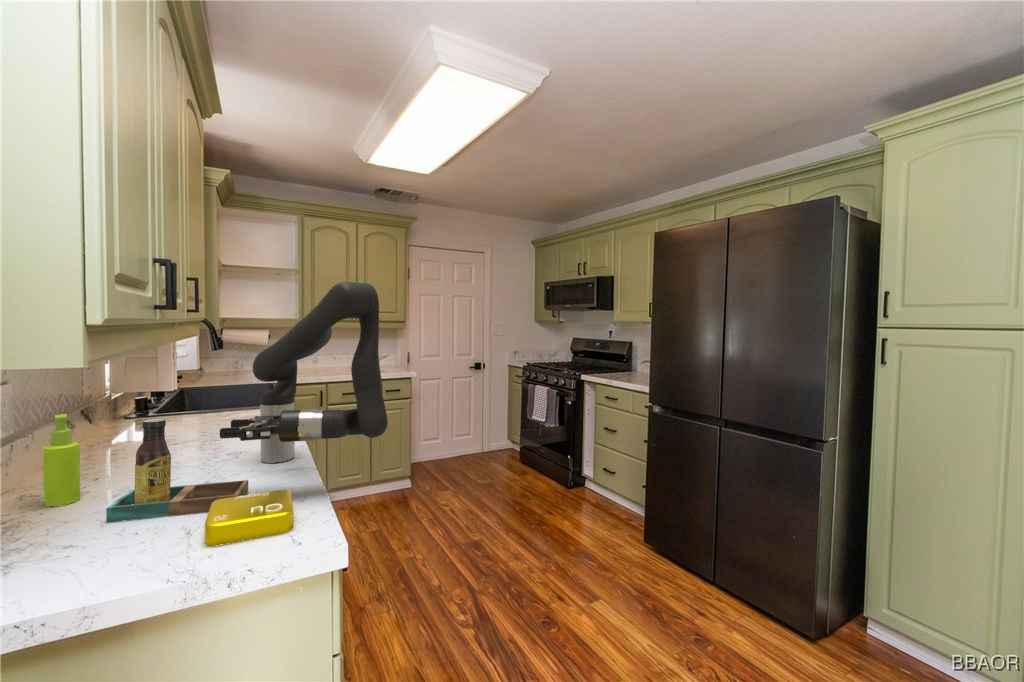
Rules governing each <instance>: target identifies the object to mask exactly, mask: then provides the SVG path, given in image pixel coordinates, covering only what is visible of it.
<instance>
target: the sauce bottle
mask: <svg viewBox="0 0 1024 682" xmlns="http://www.w3.org/2000/svg"><path fill="white" fill-rule="evenodd" d="M141 424H142V425H141V426H142V428H143V430H142V431H143V432H142V434H143V437H142V443H141V444H140V445H139V447H138V448H137V450H136V453H135V464H134V490H135V491H134V504H143V503H154V502H164V501H169V500H170V487H171V482H172V481H171V479H172V477H171V476H172V475H171V471H172V470H171V469H172V468H171V467H172V454H171V452H170V450H169V447H168V444H167V442H166V435H165V427H166V424H167V423H166V419H165V418H152V419H145V420H142V423H141Z"/></svg>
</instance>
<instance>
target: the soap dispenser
mask: <svg viewBox="0 0 1024 682" xmlns="http://www.w3.org/2000/svg"><path fill="white" fill-rule="evenodd" d="M67 418H68V414H67V413H62V414H61V413H60V414H55V415H54V421H55V428H54V429H53V430H51V431H50V444H48V445H45V446H43V447H42V460H43V461H42V465H43V466H42V467H43V471H42V472H43V501H44V502H43V503H44V504H43V505H45V506H58V507H61V506H60V505H64V506H67V505H66V504H68V505H70V503H72V504H74V503H77V502H78V500H79V499H80V498H81V497H82V496H81V463H80V462H81V458H80V457H81V456H80V452H81V451H80V450H81V449H80V443H79V442H77V441H76V442H75V441H74V442H73V440H72V439H73V438H72V431H73V430H72V429H71V428H69V427H67ZM80 500H81V499H80ZM80 500H79V501H80ZM76 501H77V502H76ZM73 502H74V503H73ZM45 506H44V507H45Z"/></svg>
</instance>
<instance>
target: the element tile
mask: <svg viewBox="0 0 1024 682" xmlns="http://www.w3.org/2000/svg"><path fill="white" fill-rule="evenodd" d="M292 498H293V497H292V492H291V490H289V489H280V490H271V491H265V492H259V493H252V494H250V493H249V494H247V495H243V496H236V497H229V498H223V499H217V500H215V501H214V502H213V503H212V504H211V507H210V510H209V512H207V513H208V514H207V516H206V519H205V522H204V545H205V544H206V545H207V547H216V546H215V545H218V546H221V545H220V544H224V545H228V544H227V543H229V544H233V543H232V542H234V543H239V542H238V541H240V542H243V541H242V540H245V541H249V539H251V540H256V539H260V538H266V537H271V536H276V535H282V534H286V533H288V531H289V532H290V531H292V530H293V529H292V528H294V504H293V499H292ZM291 529H292V530H291ZM255 538H256V539H255ZM206 545H205V546H206Z"/></svg>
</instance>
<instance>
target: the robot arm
mask: <svg viewBox="0 0 1024 682" xmlns="http://www.w3.org/2000/svg"><path fill="white" fill-rule="evenodd" d="M348 319H349V320H350V319H358V320H359V326H360V328H359V329H360V332H359V333H360V334H359V340H358V343H357V347H356V349H355V351H354V354H353V357H352V361H351V366H350V367H351V368H350V369H351V370H350V372H351V378H352V379H351V380H352V387H353V392H354V396H355V401H356V402H355V403H356V408H352V409H295V397H296V394H297V384H298V383H297V380H298V379H297V378H298V361H299V360H302V359H305V358H308V357H310V356H313V355H315V354H316V353H317V352H319V351H320V350H321V349H322V348H323V347H325V346H326V345H327V344H328V343H329V342H330V340H331V338H332V332H333V329H332V327H333V326H335V324H338V322H340V321H343V320H348ZM379 337H380V300H379V295H378V292H377V290H376V288H375V286H374V285H372V284H371V283H367V282H358V281H357V282H354V281H341V282H338V283H336V284H334V286H332V287H331V288H330V289H329V290H328V292H327V293H326V294H325V295H324V296H323V297H322V298H321V300H320V301H319V303H318V304H317V305H316V306H315V307H314V308H313V309H312V310H310V312H308V314H306V315H305V316H304V317H303V318H302V319H301V320H299V321H298V322H297V323H296V324H295V325H294V326H292V327H291V329H290V330H288V331H287V332H286V333H285V334H284V335H283V336H281V337H280V338H279V339H278V340H277V341H275V342H274V343H273V344H271V345H269V346H268V347H267V348H265V349H263V350H262V351H260V352H259V353H258V354H257V355H256V357H255V358H254V361H253V363H252V373H253V374H252V375H254V377H255V378H256V379H257V380H258V381H261V382H266V383H267V382H268V383H270V382H277V383H276V384H275V386H274V387H272V388H271V389H269V390H267V391H265V392H264V393H262V394H261V395H260V400H259V402H260V403H259V404H260V407H259V408H260V416H259V415H256V416H253V417H251V418H244V419H243V418H242V419H232V420H231V421H230V427H221V428H220V429H219V438H220V439H235V438H237V439H239V441H241V442H245V441H257V440H258V441H259V440H260V462H261V461H262V462H261V463H264V462H265V463H266V464H277V463H276V462H279V463H284V462H283V461H285V462H288V461H291V460H293V459H294V458H295V457H296V456H295V454H296V453H295V451H296V449H295V445H296V444H295V442H309V441H317V440H322V439H323V440H324V439H325V440H327V439H329V440H330V439H339V438H344V437H346V436H356V435H363V436H365V437H367V438H371V439H372V438H373V439H375V438H378V437H380V436H382V435H383V434H384V433H385V432H386V431H387V428H388V424H389V420H388V415H387V409H386V403H385V400H384V396H383V395H384V394H383V392H384V391H383V390H384V389H383V381H382V374H381V367H380V358H379V355H380V354H379V344H380V343H379V340H380V339H379ZM247 432H249V433H248V434H247ZM294 456H295V457H294ZM292 458H293V459H292ZM290 459H291V460H290ZM287 460H288V461H287Z"/></svg>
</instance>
